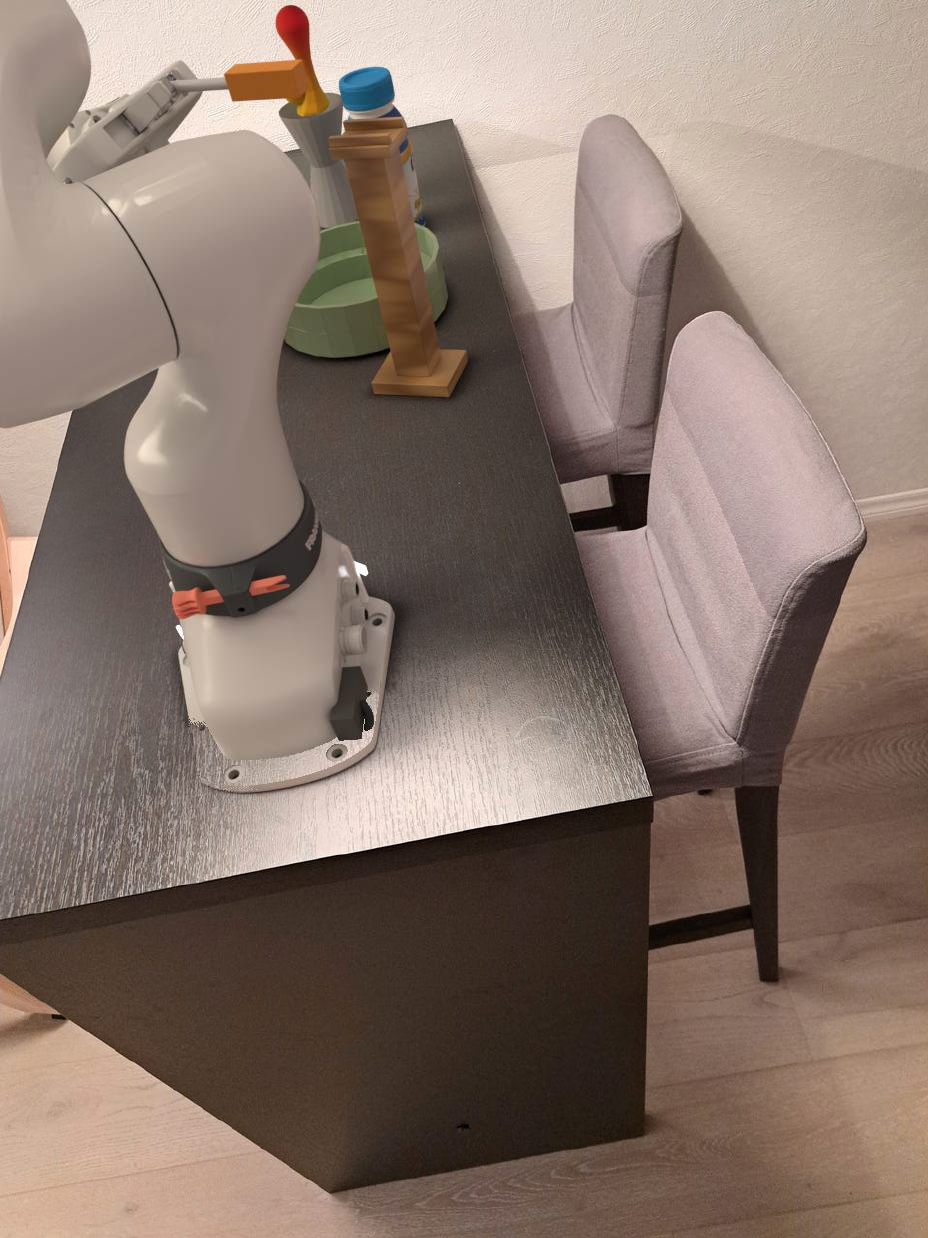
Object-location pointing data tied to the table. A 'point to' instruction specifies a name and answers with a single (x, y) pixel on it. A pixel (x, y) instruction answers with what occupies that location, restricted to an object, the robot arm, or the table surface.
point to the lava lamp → (316, 126)
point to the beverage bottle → (373, 99)
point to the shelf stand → (395, 260)
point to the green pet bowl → (353, 296)
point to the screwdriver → (253, 81)
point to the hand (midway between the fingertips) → (174, 81)
